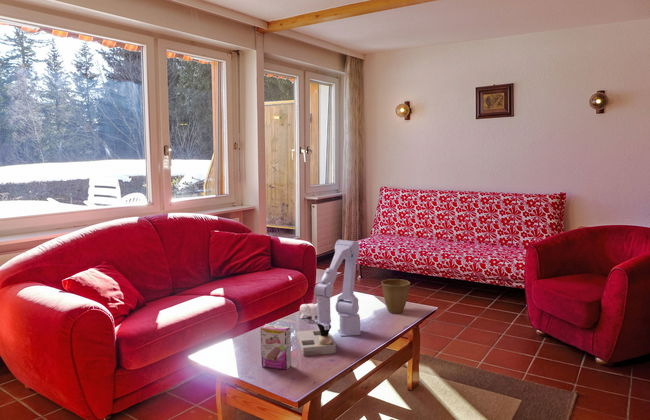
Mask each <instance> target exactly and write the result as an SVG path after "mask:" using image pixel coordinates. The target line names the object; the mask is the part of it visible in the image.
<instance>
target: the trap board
mask: <svg viewBox="0 0 650 420" xmlns="http://www.w3.org/2000/svg"><path fill="white" fill-rule="evenodd" d="M295 336H296V339H297V342H298V345H299V348H300V350H301V352H302V356H303V357H307V356H318V355H327V354H329V355H330V354H336V353H337V344H336V343H335V341H334V339H332V345H323V346H319V337H320V336H321V334H320V330H319V329H314V330H313V329H311V330H300V331H299V330H298V331H296V332H295ZM328 336H331V334H330V332H329V333H328Z"/></svg>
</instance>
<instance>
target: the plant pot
mask: <svg viewBox="0 0 650 420" xmlns="http://www.w3.org/2000/svg"><path fill="white" fill-rule="evenodd" d="M410 287H411V282H410V281H408V280H407V279H399V278H389V279H384V280H382V281H381V288H382V289H381V290H382V293H383V299H384V302H385V305H386V307H387V311H388V312H389V314H395V315H396V314H402V313H403V312H404V309H405V306H406V304H407V301H408V296H409V292H410Z"/></svg>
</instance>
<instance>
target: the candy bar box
mask: <svg viewBox="0 0 650 420" xmlns="http://www.w3.org/2000/svg"><path fill="white" fill-rule="evenodd" d="M291 334H292V332H291V326H284V325H276V324H268V323H265V324H264V325H263V326H261V327H260V346H261V347H260V349H261V352H260V353H261V355H260V356H261V367H262V368H270V369H275V370H283V371H288V369H290V367H291V366H292V342H291V341H292V340H291V338H292V336H291Z"/></svg>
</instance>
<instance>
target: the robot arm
mask: <svg viewBox="0 0 650 420" xmlns="http://www.w3.org/2000/svg"><path fill="white" fill-rule="evenodd" d="M359 256H360V245H359V243H358V241H357V240H345V239H341V238H340V239H338V240H336V242H335V245H334V255H333V257H332V260H331V262H330V266H329V267H328V268H326V269H325V270H324V273H323V274H322V277H321V279H320V281H319V282H318V283H316V284H315V286H314V290H313V293H314V295H315V299H316V305H317V316H316V317H317V318H316V319H315V321H314V323H315V324H317V325H316V326H317V328H318V330H320V334H321V336H328V333H329V334H330V330H331V328H332V325H331V322H332V319H331V318H332V317H331V296H332V295H333V292H334V284H335V282H336V280H337V278H338V274H339V273H338V269H339V268H340V266H341V265H342V263H343V261H344V260H345V264H344V273H343V283H342V293H341V294H339V295H338V296H337V300H336V303H335V311H336V312H337V314H338V316H339V329H337V332H338V334H339V335H340V336H341V337H347V336H348V337H349V336H358V335H359V336H360V335H362V334H361V316H360V314H359V313H358V312H359V309H360V306H359V299H358V297H357V296H356V294H355V295H354V292H355V283H356V282H355V281H356V269H357V259H359Z"/></svg>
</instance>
